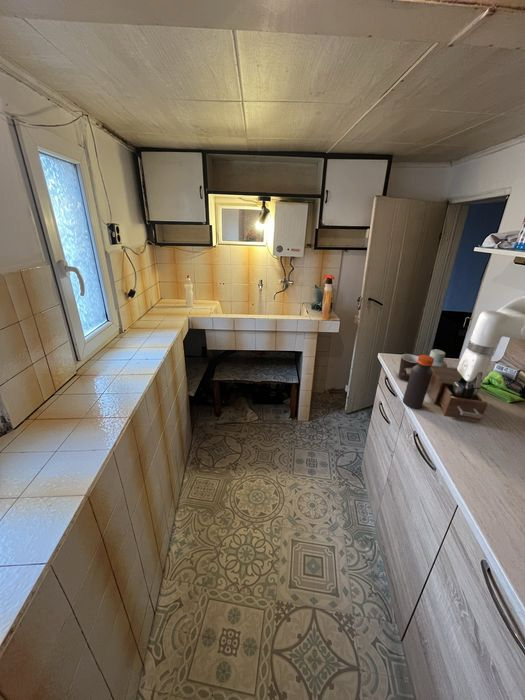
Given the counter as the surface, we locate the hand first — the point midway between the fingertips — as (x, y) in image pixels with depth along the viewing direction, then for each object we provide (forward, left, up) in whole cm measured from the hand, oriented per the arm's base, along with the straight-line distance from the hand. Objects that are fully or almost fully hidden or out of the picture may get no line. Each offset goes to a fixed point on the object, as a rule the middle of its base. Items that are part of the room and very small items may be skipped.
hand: (463, 393), depth 101 cm
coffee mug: (+12, -21, -8) cm, 26 cm away
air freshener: (-1, -34, -8) cm, 35 cm away
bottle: (+15, -1, -8) cm, 17 cm away
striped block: (0, 0, 0) cm, 0 cm away
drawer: (0, +1, -7) cm, 7 cm away
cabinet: (0, -11, -8) cm, 14 cm away
